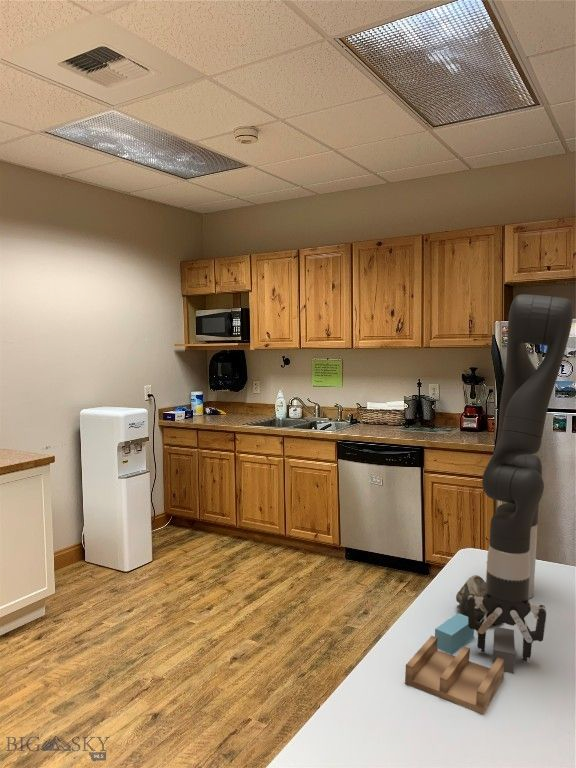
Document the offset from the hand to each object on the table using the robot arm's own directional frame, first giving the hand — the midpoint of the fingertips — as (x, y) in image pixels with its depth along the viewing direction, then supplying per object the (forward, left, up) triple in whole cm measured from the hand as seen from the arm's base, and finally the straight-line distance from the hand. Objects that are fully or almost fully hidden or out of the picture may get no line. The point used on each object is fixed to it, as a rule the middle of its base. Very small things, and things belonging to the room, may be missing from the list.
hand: (503, 654), depth 110 cm
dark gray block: (0, 0, -1) cm, 1 cm away
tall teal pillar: (0, -10, -1) cm, 10 cm away
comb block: (+12, -5, -1) cm, 13 cm away
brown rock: (-14, -9, -1) cm, 16 cm away
